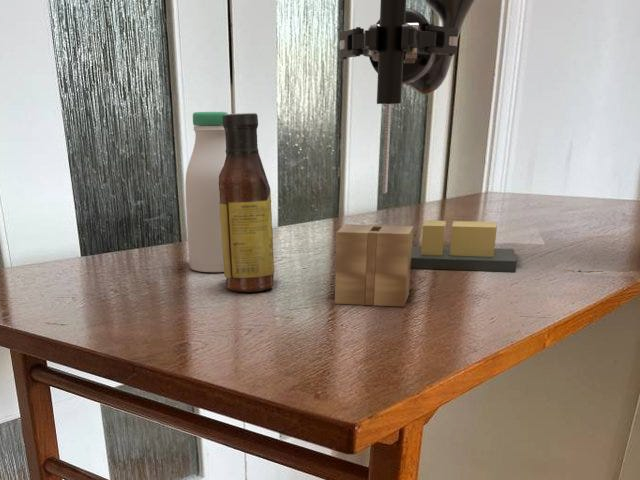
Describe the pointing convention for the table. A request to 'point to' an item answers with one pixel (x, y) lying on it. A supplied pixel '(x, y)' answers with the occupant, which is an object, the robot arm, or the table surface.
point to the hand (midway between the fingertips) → (389, 37)
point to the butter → (462, 248)
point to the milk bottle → (205, 193)
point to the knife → (390, 66)
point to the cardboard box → (373, 265)
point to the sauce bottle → (245, 209)
